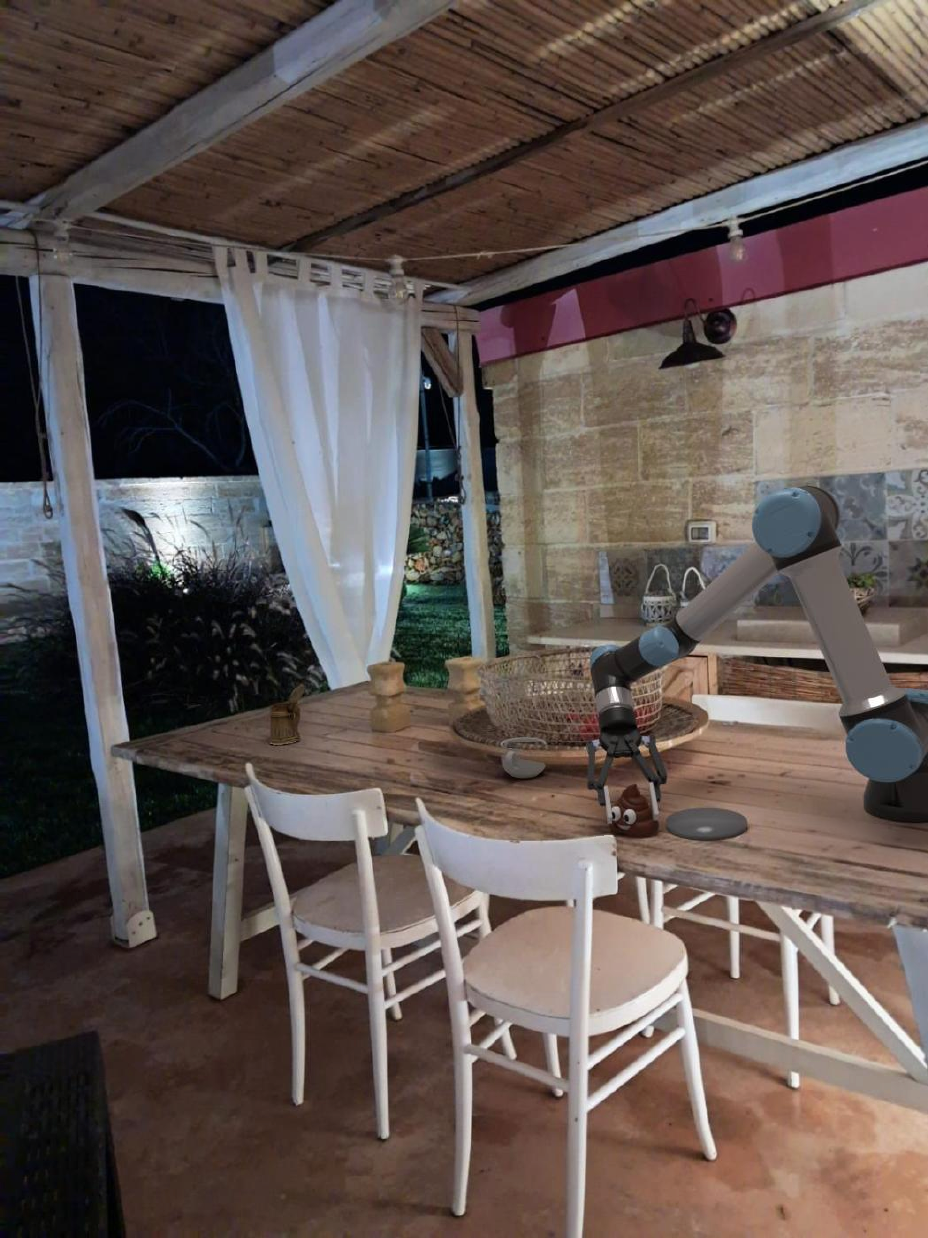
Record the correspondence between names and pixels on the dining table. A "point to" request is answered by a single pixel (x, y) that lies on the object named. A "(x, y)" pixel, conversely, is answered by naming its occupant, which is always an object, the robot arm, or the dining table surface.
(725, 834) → the charcoal plate
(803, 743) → the dining table surface
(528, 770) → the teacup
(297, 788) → the dining table surface
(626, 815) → the poop emoji
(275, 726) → the wooden mug
